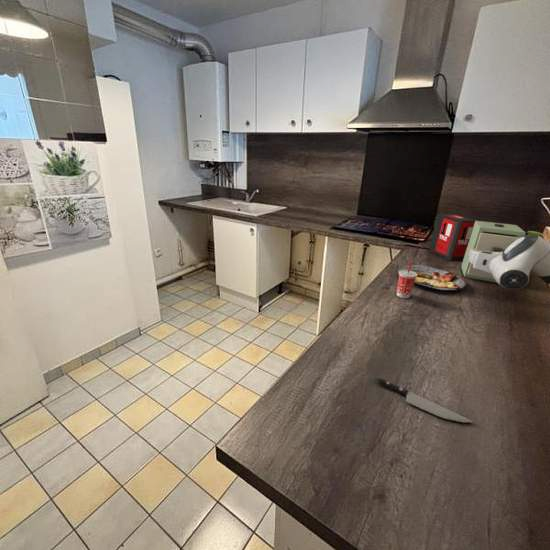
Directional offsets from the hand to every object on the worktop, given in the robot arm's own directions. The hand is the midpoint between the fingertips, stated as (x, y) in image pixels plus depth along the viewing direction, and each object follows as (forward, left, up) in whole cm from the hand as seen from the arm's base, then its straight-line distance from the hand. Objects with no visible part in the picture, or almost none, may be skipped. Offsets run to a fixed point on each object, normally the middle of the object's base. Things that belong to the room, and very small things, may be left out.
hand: (496, 253), depth 115 cm
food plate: (+21, +10, -13) cm, 27 cm away
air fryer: (0, -10, -13) cm, 16 cm away
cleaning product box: (+13, -33, -13) cm, 38 cm away
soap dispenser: (-14, -18, -13) cm, 26 cm away
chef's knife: (+23, +83, -13) cm, 87 cm away
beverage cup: (+30, +30, -13) cm, 44 cm away
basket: (0, -6, -11) cm, 13 cm away
